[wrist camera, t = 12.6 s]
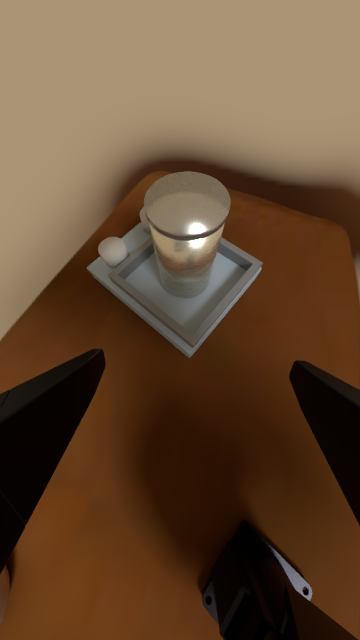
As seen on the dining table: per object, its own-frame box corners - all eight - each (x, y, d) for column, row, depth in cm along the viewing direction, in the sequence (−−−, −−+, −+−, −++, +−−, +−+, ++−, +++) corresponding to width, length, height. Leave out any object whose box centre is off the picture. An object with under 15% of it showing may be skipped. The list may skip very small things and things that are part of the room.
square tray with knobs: (254, 279, 25) (269, 257, 21) (189, 358, 22) (190, 351, 17) (162, 219, 29) (159, 191, 25) (95, 278, 26) (77, 257, 21)
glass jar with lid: (211, 299, 21) (232, 234, 12) (157, 298, 21) (139, 232, 12) (210, 240, 24) (227, 153, 15) (163, 239, 24) (151, 152, 15)
